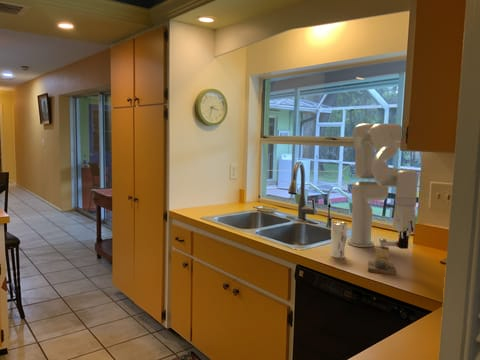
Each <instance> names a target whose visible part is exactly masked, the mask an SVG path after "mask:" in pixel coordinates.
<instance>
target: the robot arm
mask: <svg viewBox="0 0 480 360" xmlns="http://www.w3.org/2000/svg"><path fill="white" fill-rule="evenodd" d="M402 128H403V126H402V125H401V124H398V123H369V122H368V123H359V124H357V125H356V126H355V127H354V128H353V132H352V140H353V145H354V149H355V150H354V151H355V159H354V163H355V164H354V171H355V176H356V177H357V178H358V179H364V180H365V181H357V182H356V181H355V182H353V184H352V186H351V190H350V191H351V198H352V200H351V201H352V206H351V207H352V209H351V211H352V213H351V231H350V239H348V240H347V244H348V245H349V246H353V247H356V248H357V247H358V248H372V247H373V246H375V243H374V241H371V240H372V228H373V227H372V226H373V225H372V224H373V209H372V206H371V205H370V203H369V202H370V201H371V202H372V201H373V202H375V201H376V202H382V201H386V199H387V198H388V196H389V188H395V198H394V199H395V200H394V210H393V217H392V218H393V219H392V228H393V229H395V230H396V231H397V232H398V234H397V235H398V236H397V237H398V241H399V242H398V247H397V248H398V249H401V250H403V249H404V250H407V249H409V239H410V237H412V233H414V232H415V230H416V229H415V228H416V209H415V208H416V207H417V196H418V195H417V194H418V193H417V192H418V179H419V178H418V177H419V176H418V172H417V171H416V170H411V169H410V170H409V169H407V168H392V167H391V168H389V167H390V166H389V164H388V162H387V161H388V160H390V159H392V158H394V157H395V156H396V155H397V153H398V146H397V144H396V143H400V142H402V141H401V135H402ZM370 142H372V144H373V146H372V144H371V143H370ZM374 150H375V151H374ZM374 152H376V154H375V153H374ZM374 154H375V155H374ZM372 179H373V180H375V181H370V180H372ZM366 180H369V181H366Z"/></svg>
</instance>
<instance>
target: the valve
mask: <svg viewBox="0 0 480 360" xmlns="http://www.w3.org/2000/svg"><path fill="white" fill-rule="evenodd" d="M389 254H390V246H385V248H380V245H375V256H374V257H375V258H374V261H373V260H368V262H367V272H368V273H375V274H384V275H390V276H391V275H392V276H396V268H395V263H390V262H389V257H390V256H389Z"/></svg>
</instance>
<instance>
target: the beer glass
mask: <svg viewBox="0 0 480 360" xmlns="http://www.w3.org/2000/svg"><path fill="white" fill-rule="evenodd" d="M347 238H348V223H346V222H343V221H332V222H331V229H330V239H331V248H332V249H331V253H330V256H331V257H333V258H335V259H344V258H345V256H346V255H345V253H346V252H345V246H346V243H347V242H346V241H347Z"/></svg>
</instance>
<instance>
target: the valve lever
mask: <svg viewBox="0 0 480 360" xmlns="http://www.w3.org/2000/svg"><path fill="white" fill-rule="evenodd" d="M398 242H399V240H396V241H394V240H392V241H390V240H389V241H387V239H386V238H379V245H378V246H380V248H385V246H386V247H396V248H399V247H398Z"/></svg>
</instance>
